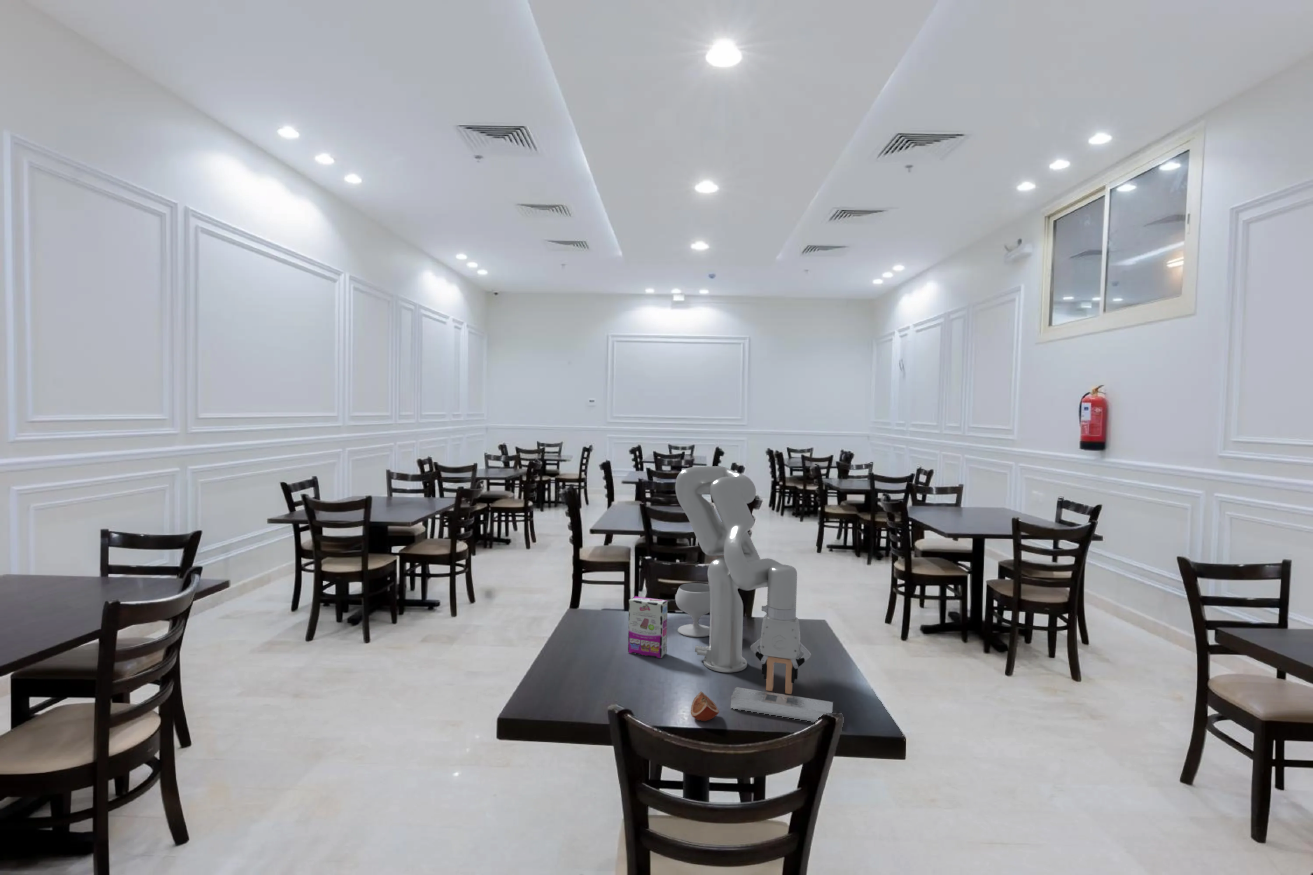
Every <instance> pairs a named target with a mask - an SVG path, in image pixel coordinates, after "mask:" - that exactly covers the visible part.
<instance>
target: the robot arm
mask: <svg viewBox="0 0 1313 875" xmlns="http://www.w3.org/2000/svg"><path fill="white" fill-rule="evenodd" d="M675 480H676V481H675V488H674V489H675V494H676V499H677V501H678V503H679V505H680V507H681V508H682V510H683V512H684V513H685V516H687V519H688V521H689V523H690V526H691V528H692V531H693V532H694V535H695V538H696V541H698V544H699V547H700V549H701V551H702V552H703V553H704V554H705V555H706V556H713V557H714V556H720V557H718V558H715V559H714V560H712V561H711V562H710V564H709V565H708V567H707V580H708V585H709V587H710V612H709V627H710V635H709V640H708V642H709V644H708V645H706V646H701V645H695V647H694V652H695V653H696V656H704V657H703V665H704V666H705V667H706V668H708V669H709V670H712V671H715V672H720V673H737V672H742V671H744V670H745V669H746V668H747V666H748V662H747V661H748V660H747V659H745V657H743V627H744V626H743V625H744V624H743V623H744V622H743V620H744V603H743V600H742V597H741V595H740V593H739V591H738V589H740V590H743V591H752V590H758V589H762V588H767V597H766V598H767V600H766V605H761V611H762V612H764V613H765V615H764V616H763V619H762V623H761V632H760V638H758V640H756V641H755V642H753V643H752V644H751V645H750V650H751V651H752V653H753V654H754V655H755V657H756V658H757V659H758V660H759V661H760V664H761V675H763V680H766V679H767V658H768V656H770V657H777V658H784V659H791V661H792V664H793V667H792V675H791V683H792V685H793V684H795V682H796V680H798V677H799V676H798V675H799V670H798V669H799V668H800V667H801V666H802V665H803V664H804V663H805V662H806V661H808V660H809V658H811V657H812V654H811V652H810V650H809V649H808V648H806V646H805V645H803V643H802V642H801V632H800V631H801V630H800V628H801V627H800V622H799V618H798V617H797V594H798V593H797V587H798V572H797V569H796V568H795V567H794V566H792V565H788V564H783V563H780V562H779V561H777V560H776V559H772V558H760V555H759V553H758V551H757V549H756V547H755V545H754V542H753V540H752V538H751V536H750V534H749V531H750V530H751V529H752V528H753V527H754V525H755V519H754V517H753V515H752V513H751V510H750V508H749V506H748V504H750V503H752V502H753V501H754V499H755V498H756V495H757V493H756V492H757V490H756V485H755V483H754V482H753V481H752V480H751V478H750V477H748V476H747V475H745V474H743V473H741V472H739V471H735V470H733V469H730V468H728V467H726V466H722V465H717V466H716V465H714V466H712V465H710V466H707V465H706V466H692V467H687V468H685V469H682V470H681V471H680V472H679V473H678V475H677V477H676V478H675ZM703 495H710V497H711V500H712V502H713V503H714V506H715V508H716V509H715V508H714V506H713V504H711V503H710V502H709V501H708V500H707V499H706V498H705V497H704V496H703ZM717 513H718V514H717ZM718 515H719V516H718ZM719 517H720V518H719ZM721 555H723V556H721ZM758 647H759V648H758ZM800 652H801V653H802V654H803V655H802V656H801V657H799V656H800Z"/></svg>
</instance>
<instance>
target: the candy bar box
mask: <svg viewBox="0 0 1313 875" xmlns="http://www.w3.org/2000/svg"><path fill="white" fill-rule="evenodd" d="M668 603H669V602H668V600H664V599H661V598H660V599H658V598H651V597H643V596H637V595H635V596H633V597H632V598H630V599H628V629H627V633H628V636H627V639H628V640H627V641H628V642H627V644H628V645H627V652H629V654H632V653H636V654H635V655H638V654H640V655H639V656H643V655H645V657H649V656H650V657H649V658H655V657H656V658H655V659H662V658H663V657H664V656H665V654H666V655H667V653H668Z"/></svg>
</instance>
